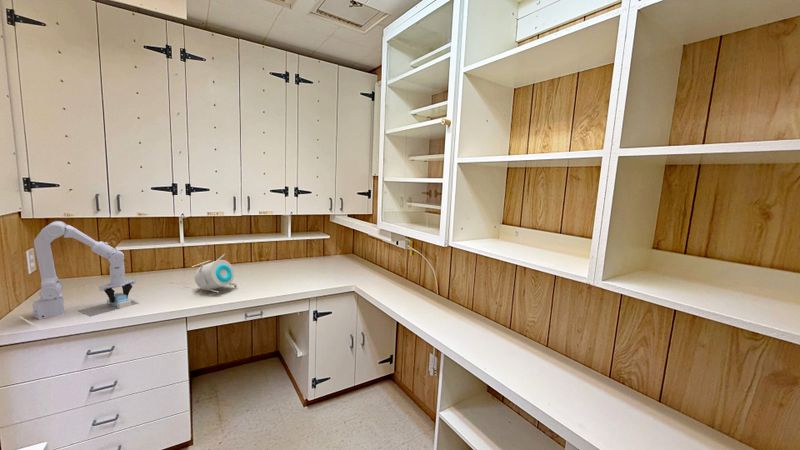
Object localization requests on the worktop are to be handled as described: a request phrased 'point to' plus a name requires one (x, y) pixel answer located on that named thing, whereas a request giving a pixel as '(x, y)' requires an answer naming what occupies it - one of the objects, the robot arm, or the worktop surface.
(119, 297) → the block
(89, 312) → the plate
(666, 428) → the worktop surface
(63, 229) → the robot arm
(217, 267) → the satellite
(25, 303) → the worktop surface
